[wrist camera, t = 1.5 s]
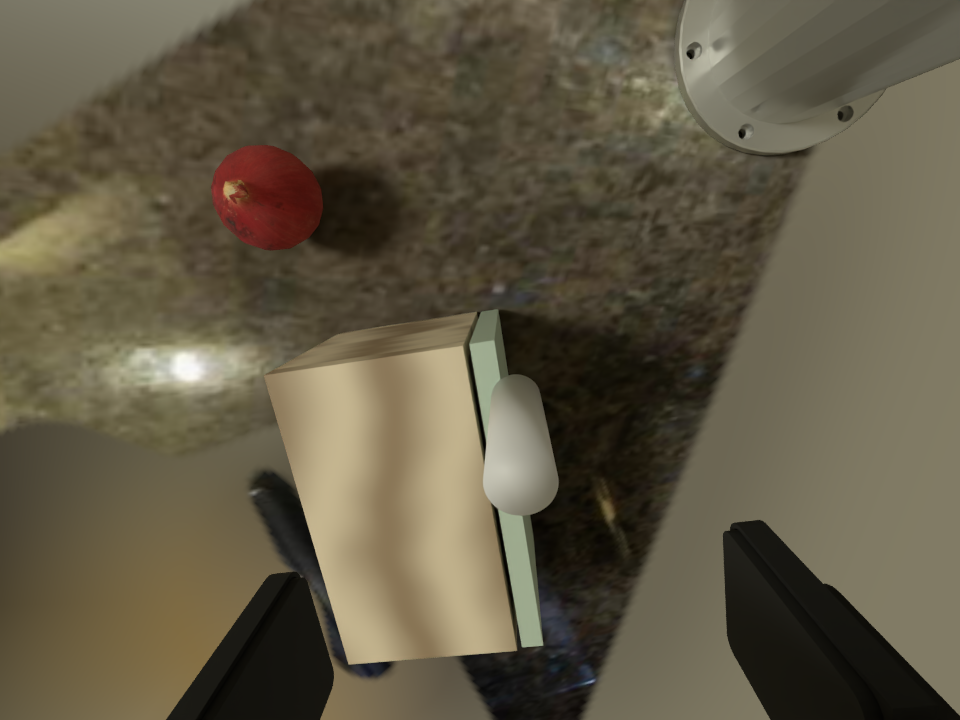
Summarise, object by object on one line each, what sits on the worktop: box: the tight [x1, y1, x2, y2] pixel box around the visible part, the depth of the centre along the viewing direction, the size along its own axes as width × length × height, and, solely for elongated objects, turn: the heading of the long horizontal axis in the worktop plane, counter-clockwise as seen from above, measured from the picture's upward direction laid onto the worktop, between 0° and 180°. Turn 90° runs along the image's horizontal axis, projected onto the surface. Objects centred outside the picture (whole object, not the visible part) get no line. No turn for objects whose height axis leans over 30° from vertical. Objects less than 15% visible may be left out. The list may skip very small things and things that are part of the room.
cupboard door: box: [469, 309, 559, 647], centre depth 25 cm, size 3×18×18 cm, turn 10°
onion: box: [211, 145, 323, 250], centre depth 27 cm, size 6×6×8 cm
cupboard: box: [264, 312, 517, 664], centre depth 29 cm, size 10×18×10 cm, turn 10°
